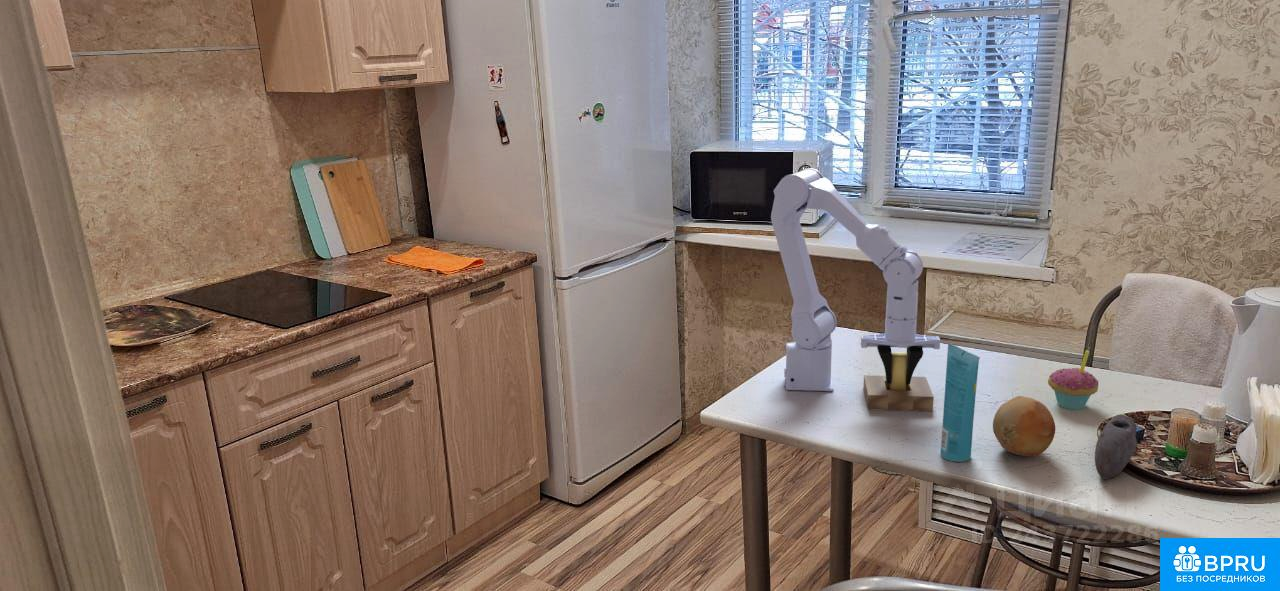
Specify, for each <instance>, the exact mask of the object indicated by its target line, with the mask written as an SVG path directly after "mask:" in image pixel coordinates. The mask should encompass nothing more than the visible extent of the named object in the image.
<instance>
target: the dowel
mask: <svg viewBox="0 0 1280 591" xmlns="http://www.w3.org/2000/svg"><path fill="white" fill-rule="evenodd" d="M891 353H892V361H891V384H890V390H905V391H906V376H907V359H908V355H907V352H903V351H894V352H891Z"/></svg>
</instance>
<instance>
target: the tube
mask: <svg viewBox="0 0 1280 591" xmlns="http://www.w3.org/2000/svg"><path fill="white" fill-rule="evenodd" d="M947 344H948V345H947V354H946V355H947V356H946V369H945V370H946V372H945V384H944V385H945V386H944V400H943V413H942V414H943V416H942V426H941V428H942V430H941V442H940V455H941V457H942V458H943V459H945V460H948V461H951V462H957V463H958V462H962V463H963V462H967V461H970V459H971V457H972V444H973V430H974V418H975V407H976V405H975V404H976V394H977V385H978V384H977V383H978V372H979V364H980V363H979V362H980V359H981V356H978V355H976V354H974V353H972V352H969V351H967V350H965V349H962V348H960V347H958V346H956V345H954V344H953V343H950V342H948V343H947Z"/></svg>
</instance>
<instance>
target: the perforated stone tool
mask: <svg viewBox="0 0 1280 591" xmlns="http://www.w3.org/2000/svg"><path fill="white" fill-rule="evenodd" d="M1137 430H1138V429H1137V424H1136V422H1135V419H1133V418H1132V417H1130V416H1127V415H1125V414H1121V413H1119V414H1116V415H1115V416H1113V417H1111V418H1110V419H1109V421H1108V422H1107V423H1106V425H1105V426H1104V427H1103V428H1102V431H1101V432H1100V434H1099V436H1098V439H1097V441H1096V444H1095V451H1094V466H1095V470H1096V471H1097V473H1098V475H1099V477H1100V478H1102V479H1111V478H1114V477H1115V476H1117V475H1119V474H1120V473H1121V472H1122V471H1123V469H1124V468H1126V467H1127V465H1128V463H1129V462H1130V460H1131V458H1132V456H1133V454H1134V452H1135V450H1136V448H1137V447H1138V446H1137V445H1138V440H1137V437H1136V435H1137Z"/></svg>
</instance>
